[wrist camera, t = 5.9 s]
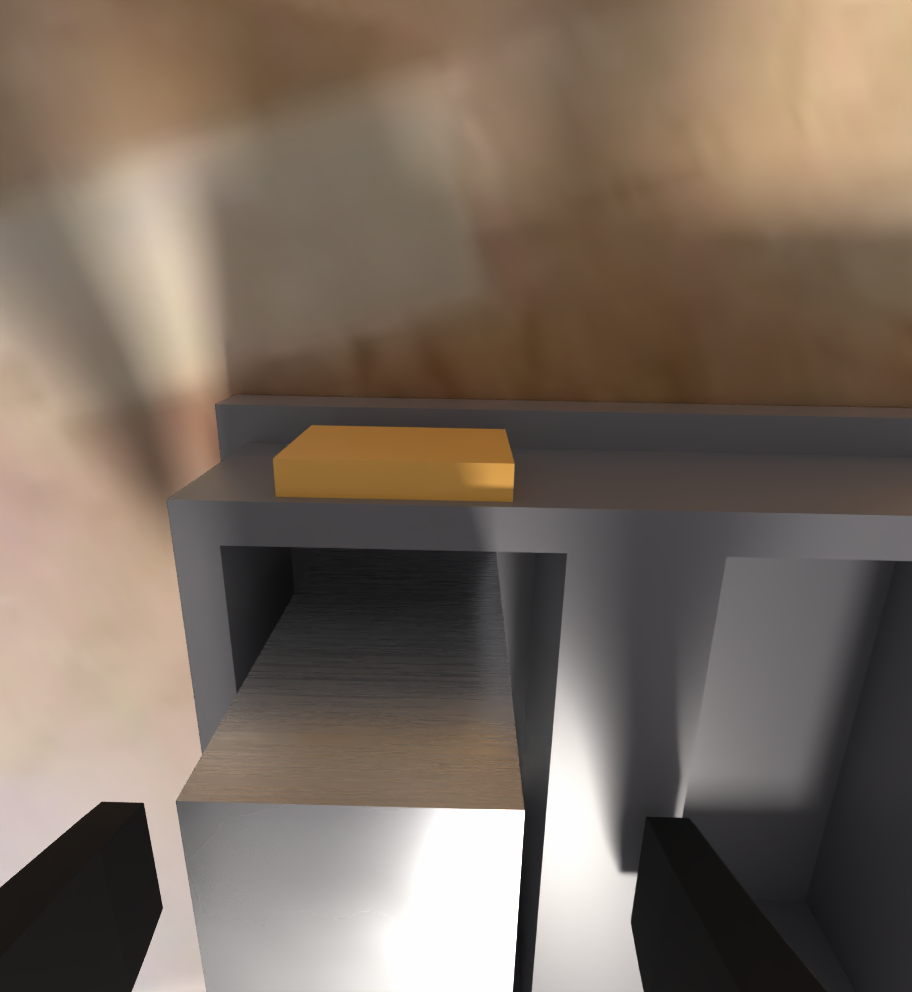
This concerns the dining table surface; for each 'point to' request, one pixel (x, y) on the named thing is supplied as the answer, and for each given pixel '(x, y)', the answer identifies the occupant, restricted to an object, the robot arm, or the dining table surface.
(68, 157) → the dining table surface
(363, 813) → the grey metallic block
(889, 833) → the box
